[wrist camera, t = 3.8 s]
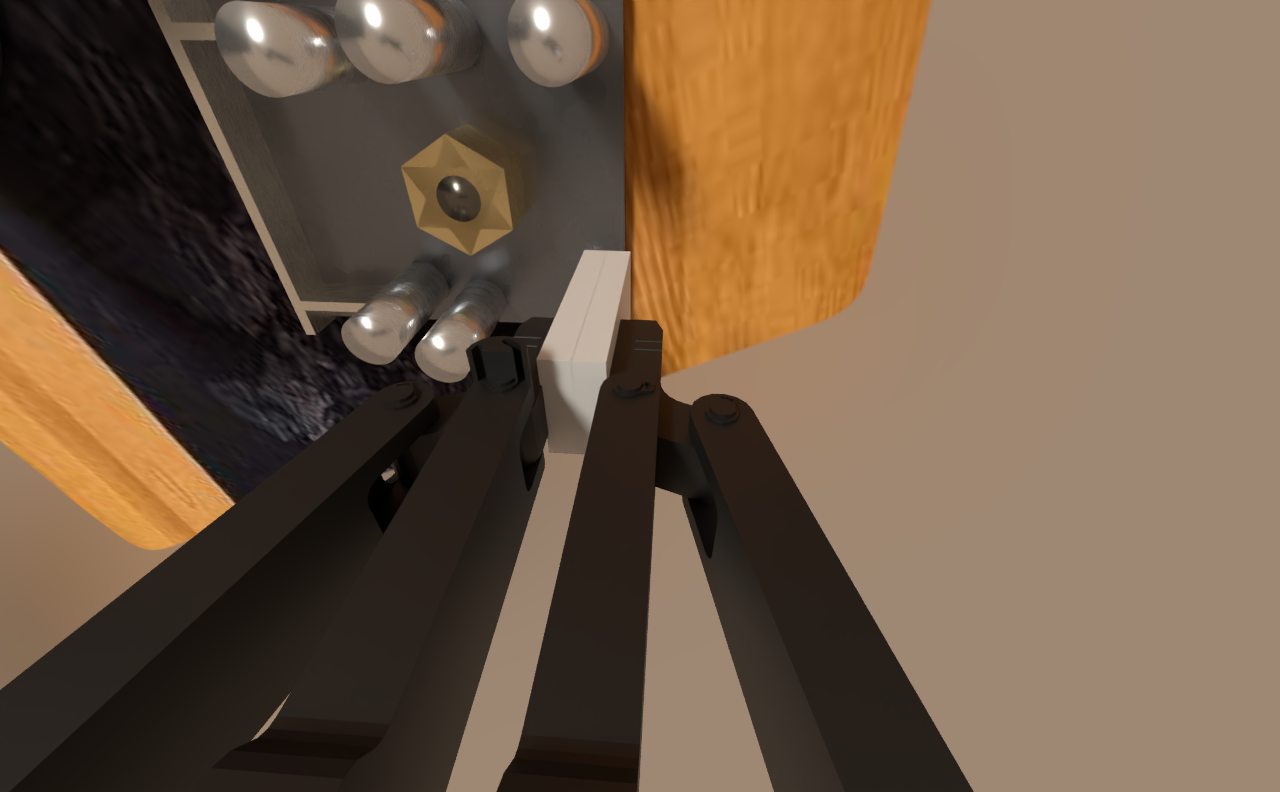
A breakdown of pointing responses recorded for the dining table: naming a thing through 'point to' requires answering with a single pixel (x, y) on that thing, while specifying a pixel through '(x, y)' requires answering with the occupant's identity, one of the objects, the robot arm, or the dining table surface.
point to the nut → (466, 189)
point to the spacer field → (411, 151)
